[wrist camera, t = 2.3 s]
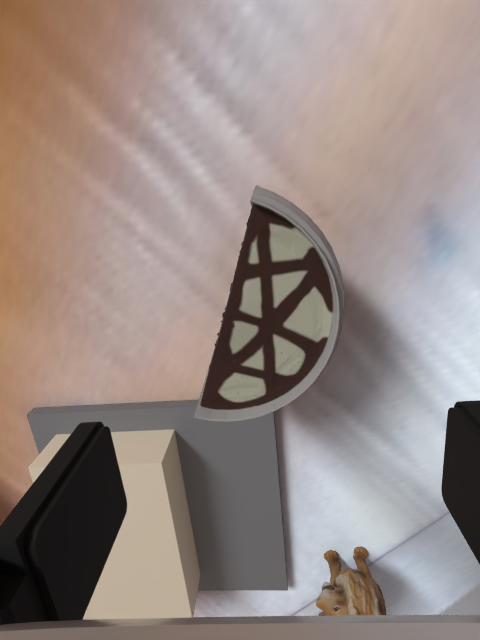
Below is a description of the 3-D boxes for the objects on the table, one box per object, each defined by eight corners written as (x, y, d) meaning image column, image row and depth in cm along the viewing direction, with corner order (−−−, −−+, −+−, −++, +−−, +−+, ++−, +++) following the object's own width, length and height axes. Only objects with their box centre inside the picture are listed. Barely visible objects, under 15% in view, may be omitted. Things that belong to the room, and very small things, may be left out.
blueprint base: (272, 396, 31) (273, 434, 26) (287, 579, 38) (289, 637, 33) (33, 408, 33) (-6, 445, 28) (87, 580, 39) (62, 634, 35)
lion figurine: (306, 519, 35) (318, 627, 27) (367, 516, 34) (399, 625, 26) (318, 631, 40) (332, 753, 31) (372, 630, 39) (401, 755, 31)
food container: (293, 370, 30) (304, 456, 21) (215, 349, 30) (191, 426, 21) (349, 209, 26) (394, 225, 17) (259, 183, 26) (254, 186, 16)
